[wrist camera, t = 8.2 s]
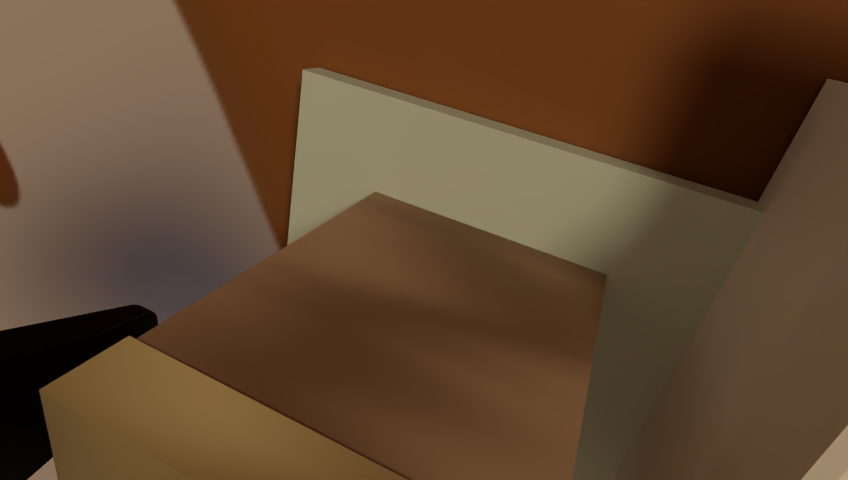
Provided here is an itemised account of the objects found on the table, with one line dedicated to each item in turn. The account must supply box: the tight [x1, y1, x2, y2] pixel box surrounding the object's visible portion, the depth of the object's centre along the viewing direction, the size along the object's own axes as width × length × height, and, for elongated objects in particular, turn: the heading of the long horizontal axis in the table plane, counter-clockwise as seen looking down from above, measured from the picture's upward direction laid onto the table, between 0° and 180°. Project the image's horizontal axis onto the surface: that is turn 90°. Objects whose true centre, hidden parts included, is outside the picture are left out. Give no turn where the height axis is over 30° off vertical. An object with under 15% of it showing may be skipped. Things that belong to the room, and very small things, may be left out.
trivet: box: [287, 68, 764, 480], centre depth 12 cm, size 9×9×1 cm
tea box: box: [39, 192, 607, 480], centre depth 8 cm, size 5×5×7 cm
